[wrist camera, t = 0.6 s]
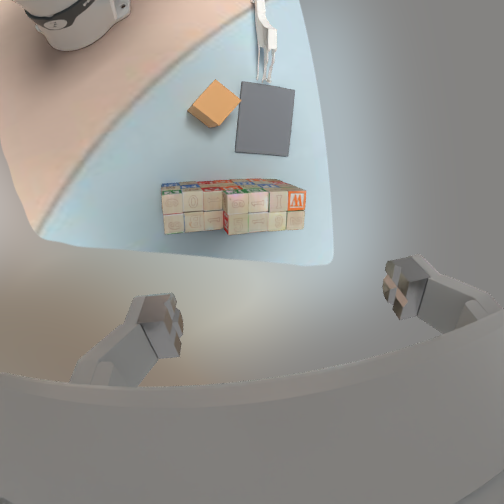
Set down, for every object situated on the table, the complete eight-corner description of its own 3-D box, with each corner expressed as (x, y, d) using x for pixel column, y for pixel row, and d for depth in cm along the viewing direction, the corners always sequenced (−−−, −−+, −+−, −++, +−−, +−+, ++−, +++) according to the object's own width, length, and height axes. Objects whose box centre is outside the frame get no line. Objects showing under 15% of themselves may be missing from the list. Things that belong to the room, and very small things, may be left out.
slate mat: (241, 82, 43) (242, 81, 42) (293, 90, 46) (295, 90, 46) (234, 151, 48) (235, 151, 47) (286, 156, 51) (288, 156, 50)
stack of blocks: (163, 217, 49) (164, 242, 38) (161, 183, 46) (160, 197, 36) (275, 209, 55) (304, 229, 44) (276, 178, 52) (307, 190, 42)
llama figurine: (253, 73, 49) (259, -6, 36) (274, 85, 41) (283, -11, 28) (245, 73, 48) (249, -7, 35) (264, 85, 41) (272, -13, 28)
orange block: (187, 110, 43) (192, 104, 35) (205, 89, 42) (215, 79, 34) (209, 127, 45) (219, 125, 37) (227, 106, 44) (241, 100, 37)
